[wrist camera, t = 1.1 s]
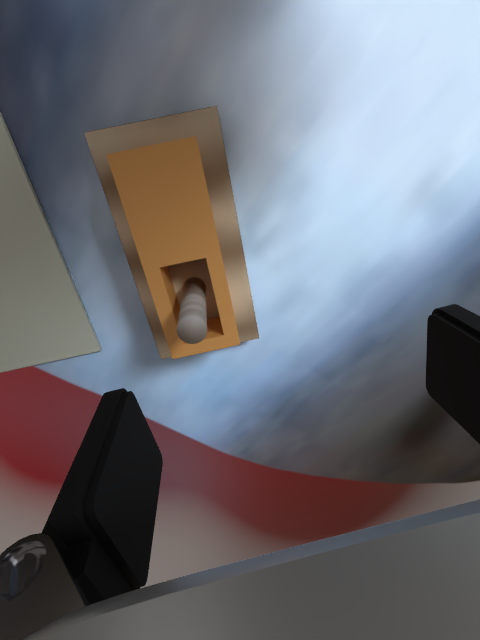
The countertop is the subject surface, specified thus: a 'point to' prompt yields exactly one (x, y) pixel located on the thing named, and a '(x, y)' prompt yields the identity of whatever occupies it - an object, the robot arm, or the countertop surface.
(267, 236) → the countertop surface
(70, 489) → the robot arm
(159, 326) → the peg base
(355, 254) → the countertop surface
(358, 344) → the countertop surface
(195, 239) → the link
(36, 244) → the mat
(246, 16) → the countertop surface
